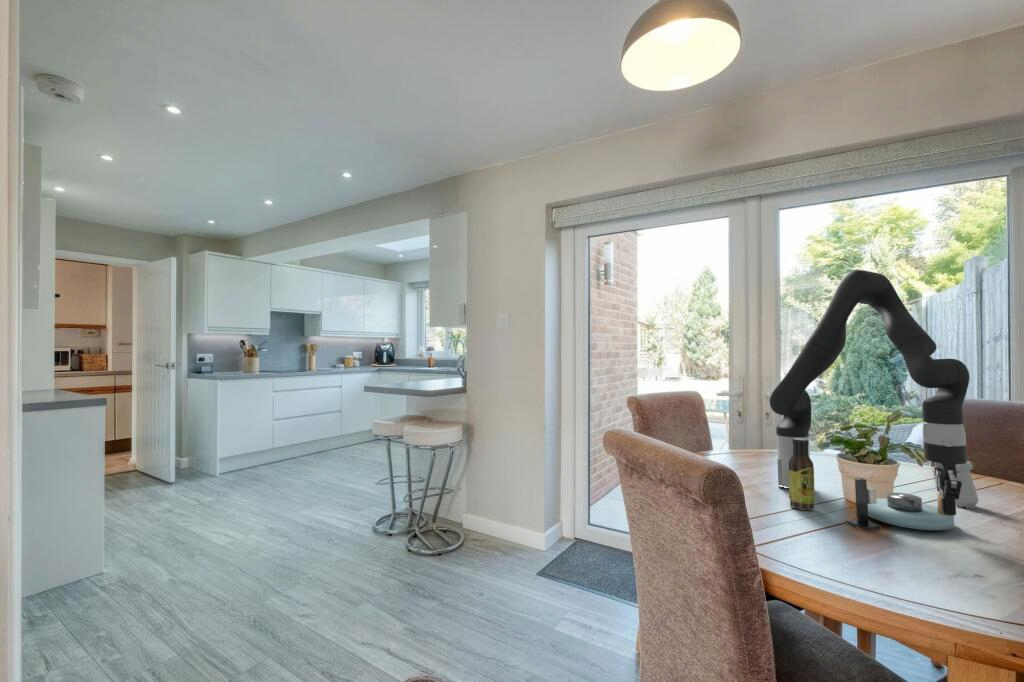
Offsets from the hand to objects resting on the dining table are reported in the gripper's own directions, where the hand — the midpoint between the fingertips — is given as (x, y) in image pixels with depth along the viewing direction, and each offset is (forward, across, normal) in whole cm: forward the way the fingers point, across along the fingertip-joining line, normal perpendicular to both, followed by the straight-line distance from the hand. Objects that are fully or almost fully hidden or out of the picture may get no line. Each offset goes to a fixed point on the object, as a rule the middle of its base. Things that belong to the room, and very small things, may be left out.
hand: (949, 514), depth 108 cm
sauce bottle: (+6, -8, -30) cm, 31 cm away
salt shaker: (+6, -30, +9) cm, 32 cm away
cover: (+2, -9, -7) cm, 12 cm away
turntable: (+4, -8, -7) cm, 11 cm away
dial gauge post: (+5, +1, -17) cm, 18 cm away
